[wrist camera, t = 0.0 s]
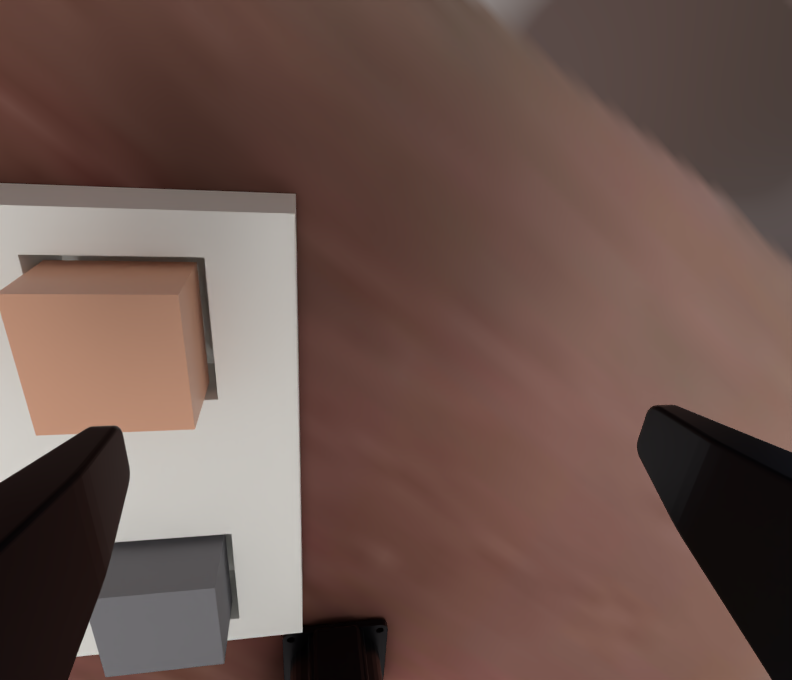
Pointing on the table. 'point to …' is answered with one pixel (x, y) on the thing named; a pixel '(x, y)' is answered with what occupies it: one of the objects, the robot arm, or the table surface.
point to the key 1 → (108, 344)
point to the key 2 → (164, 605)
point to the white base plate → (227, 366)
